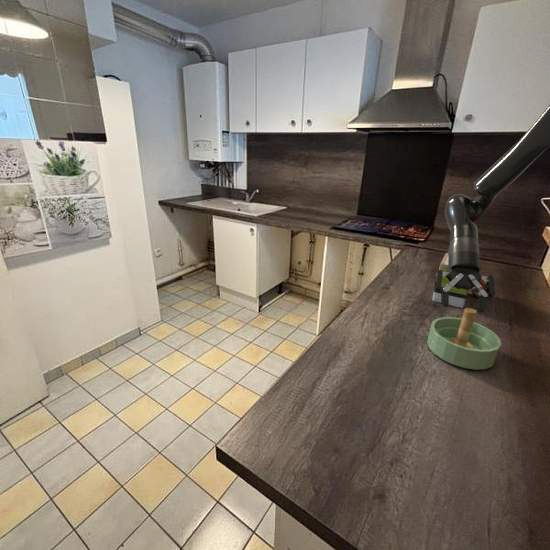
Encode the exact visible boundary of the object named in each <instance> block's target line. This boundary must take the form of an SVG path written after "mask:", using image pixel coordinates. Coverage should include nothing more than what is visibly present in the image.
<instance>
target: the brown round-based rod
mask: <svg viewBox="0 0 550 550" xmlns="http://www.w3.org/2000/svg"><path fill="white" fill-rule="evenodd" d="M477 313H478V312H477V310H476V309H474V308H471V307H466V308H464V310H463V314H462V317H461V319H462V320H461V324H460V327H459V330H458V334H457V337H456V338H451V339H449V340H448V341H450V342H452V343H455V344H457V345H460V346H463V347H467V348H471V349H474V348H473V346H472V345H471V344H470V343H468V339H469V335H470V332H471V329H472V326H473V323H474V322H475V319H476V316H477Z"/></svg>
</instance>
